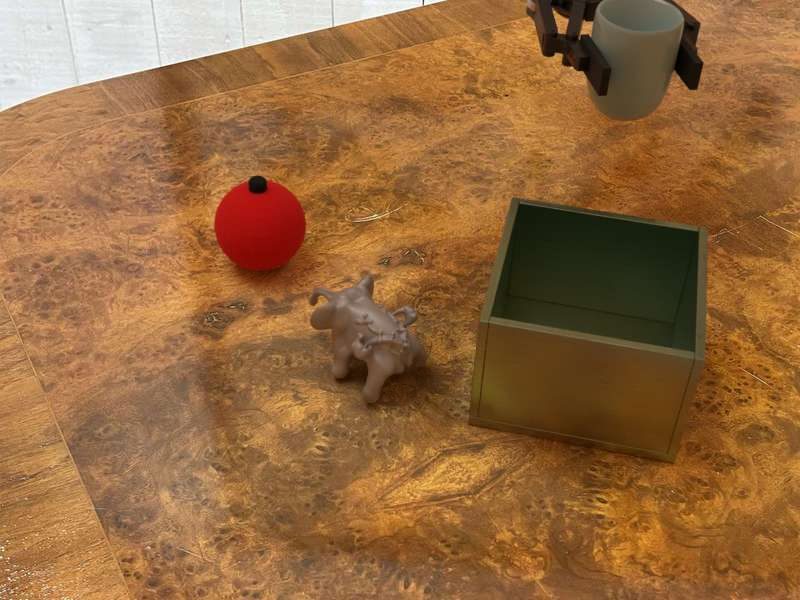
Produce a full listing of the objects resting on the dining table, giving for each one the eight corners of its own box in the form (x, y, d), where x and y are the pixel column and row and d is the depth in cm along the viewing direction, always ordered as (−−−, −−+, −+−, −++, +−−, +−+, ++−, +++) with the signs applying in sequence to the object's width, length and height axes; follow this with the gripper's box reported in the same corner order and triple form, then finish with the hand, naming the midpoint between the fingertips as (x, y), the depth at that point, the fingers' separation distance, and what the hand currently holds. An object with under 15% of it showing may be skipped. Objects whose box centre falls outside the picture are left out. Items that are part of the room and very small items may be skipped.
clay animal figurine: (395, 418, 92) (397, 353, 87) (273, 375, 96) (269, 311, 91) (436, 352, 99) (441, 288, 94) (321, 314, 102) (319, 251, 97)
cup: (608, 138, 98) (627, 38, 91) (565, 98, 103) (580, 1, 97) (679, 123, 100) (702, 24, 94) (633, 84, 106) (652, -12, 99)
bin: (680, 327, 102) (708, 227, 95) (674, 463, 89) (705, 360, 82) (499, 296, 105) (511, 196, 97) (467, 424, 92) (478, 320, 84)
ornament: (258, 223, 113) (253, 143, 106) (325, 256, 109) (323, 174, 103) (199, 265, 107) (189, 183, 101) (267, 301, 103) (261, 218, 97)
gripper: (660, 1, 115) (749, 108, 98) (474, 10, 112) (533, 124, 95) (674, -68, 110) (770, 34, 93) (480, -60, 107) (543, 47, 90)
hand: (651, 79), depth 94 cm, fingers closed on cup, 8 cm apart
